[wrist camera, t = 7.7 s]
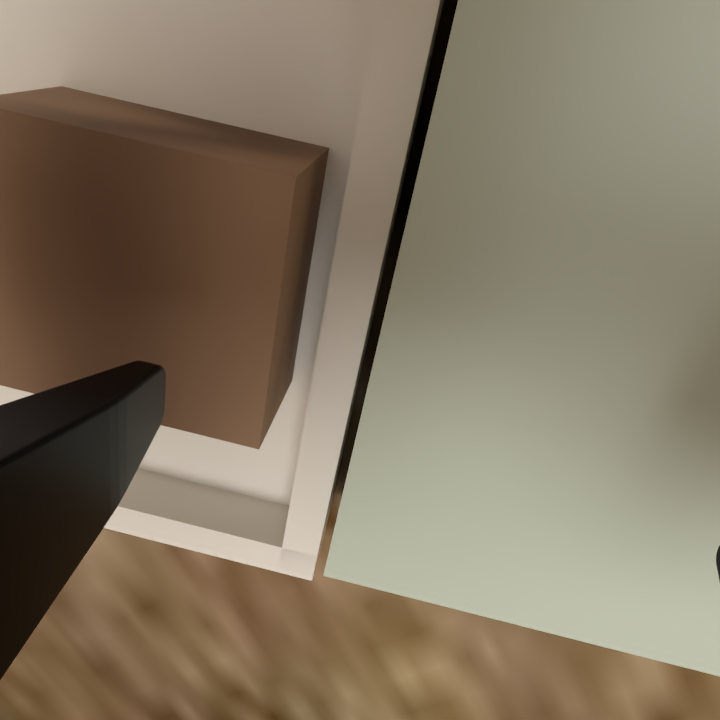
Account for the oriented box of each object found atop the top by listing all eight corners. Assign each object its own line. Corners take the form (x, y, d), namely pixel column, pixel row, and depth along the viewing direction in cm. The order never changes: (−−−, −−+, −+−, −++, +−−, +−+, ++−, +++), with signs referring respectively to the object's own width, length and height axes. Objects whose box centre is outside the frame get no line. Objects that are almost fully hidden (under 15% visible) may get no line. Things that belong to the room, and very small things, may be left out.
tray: (482, -169, 10) (489, -236, 8) (325, 529, 19) (303, 610, 16) (-314, -335, 11) (-558, -451, 8) (-119, 418, 19) (-210, 478, 17)
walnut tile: (329, 147, 13) (296, 177, 10) (292, 380, 16) (259, 449, 13) (61, 86, 13) (-38, 99, 10) (74, 327, 16) (-1, 385, 13)
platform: (1277, 112, 11) (1545, 138, 8) (825, 617, 18) (889, 719, 15) (474, -61, 11) (478, -90, 8) (343, 496, 18) (323, 575, 15)
